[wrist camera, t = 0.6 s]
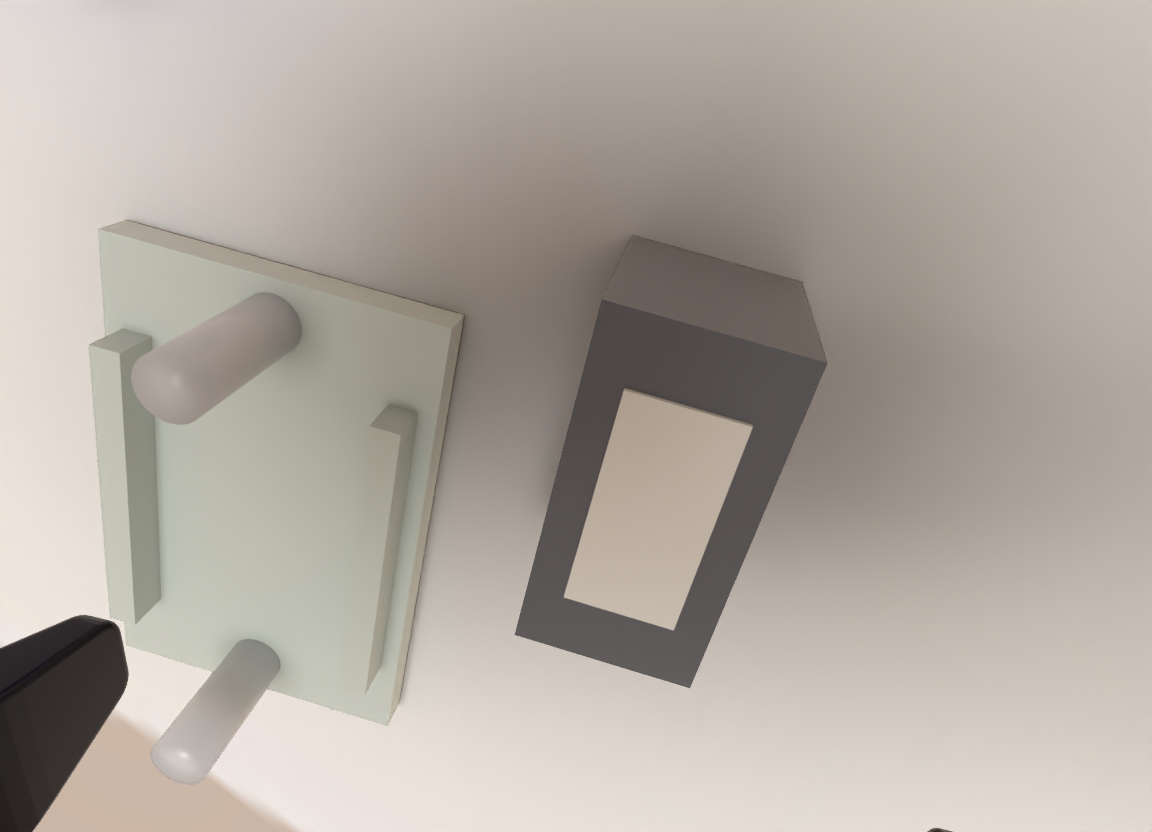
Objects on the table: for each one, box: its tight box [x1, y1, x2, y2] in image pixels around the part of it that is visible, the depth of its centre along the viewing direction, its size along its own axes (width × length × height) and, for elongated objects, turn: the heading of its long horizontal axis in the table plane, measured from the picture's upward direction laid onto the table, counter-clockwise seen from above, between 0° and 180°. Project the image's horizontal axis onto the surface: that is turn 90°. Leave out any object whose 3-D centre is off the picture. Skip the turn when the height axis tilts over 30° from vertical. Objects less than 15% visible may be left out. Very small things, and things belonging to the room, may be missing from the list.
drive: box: [515, 235, 827, 688], centre depth 17 cm, size 4×8×5 cm, turn 167°
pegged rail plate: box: [89, 220, 464, 785], centre depth 21 cm, size 9×14×5 cm, turn 167°
